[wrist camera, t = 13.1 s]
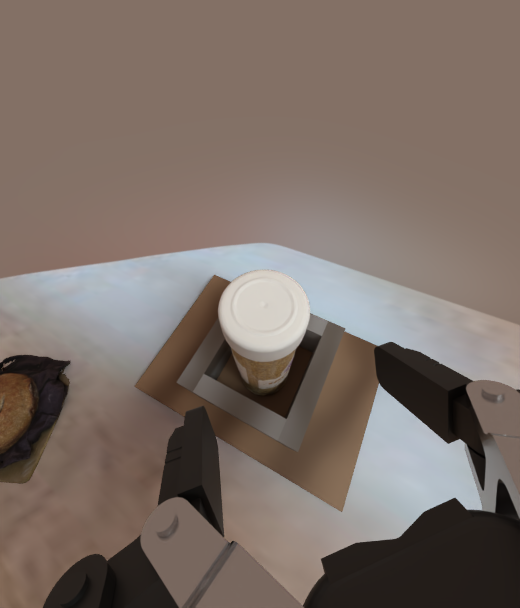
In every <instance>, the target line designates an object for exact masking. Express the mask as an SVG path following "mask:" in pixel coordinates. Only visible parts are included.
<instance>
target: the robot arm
mask: <svg viewBox="0 0 520 608" xmlns="http://www.w3.org/2000/svg"><path fill="white" fill-rule="evenodd" d="M374 357H375V366H376V375H377V379H378V381H379V383H380V385H381V386H382V387H383V389H385V390H386V391H387V392H388V393H389V394H390V395H392V396H393V397H394V398H395V399H396V400H397V401H399V402H400V403H401V404H402V405H403V406H404V407H406V408H407V409H408V410H409V411H410V412H411V413H413V414H414V415H415V416H416V417H417V418H418V419H420V420H421V421H422V422H423V423H424V424H426V425H427V426H428V427H429V428H430V429H431V430H433V431H434V432H435V433H436V434H437V435H438V436H440V437H441V438H442V439H443V440H444V441H445V442H447V443H448V444H449V443H451V442H454V441H456V440H458V439H461V440H462V441H463V442H465V452H466V455H467V458H468V461H469V464H470V468H471V471H472V474H473V477H474V480H475V483H476V487H477V490H478V493H479V496H480V500H481V504H482V510H483V511H482V510H466V509H465V507H464V506H463V505H462V504H461V503H460V502H459V501H458V500H457V499H456V498H453V499H451V500H449V501H447V502H444V503H442V504H440V505H438V506H436V507H434V508H431V509H429V510H427V511H425V512H423V514H422V515H421V516H420V517H419V518H418V519H417V520H416V521H415V522H414V523H413V524H412V525H411V526H410V527H409V528H408V529H407V530H406V531H405V532H404V533H403V534H402V536H400V537H399V538H397V539H391V540H381V541H371V542H360V543H355V544H353V545H350V546H348V547H346V548H344V549H342V550H339V551H337V552H335V553H333V554H331V555H328V556H326V557H324V558H322V559H321V561H322V565H323V569H324V573H325V574H324V575H323V576H322V577H321V578H320V579H319V580H318V581H317V583H316V584H315V585H314V587H313V588H312V590H311V591H310V593H309V595H308V597H307V599H306V600H305V603H304V605H303V606H302V605H301V604H300V603H299V602H298V601H297V600H296V599H295V598H294V597H293V596H292V595H291V594H290V593H289V592H288V591H287V590H286V589H285V588H284V587H283V586H282V585H281V584H280V583H279V582H278V581H277V580H276V579H275V578H274V577H273V576H271V575H270V574H269V573H268V572H267V571H266V570H265V569H264V568H263V567H262V566H261V565H260V564H259V563H258V562H257V561H256V560H255V559H254V558H253V557H252V556H251V555H250V554H249V553H248V552H247V551H246V550H245V549H244V548H243V547H242V546H241V545H239V544H238V543H237V542H235V541H232V542H231V543H229V542H228V541H227V540H225V539H224V538H223V537H224V528H223V513H222V499H221V484H220V470H219V455H218V445H217V440H216V436H215V433H214V430H213V428H212V425H211V422H210V419H209V417H208V414H207V411H206V409H205V407H204V406H200V407H198V408H195V409H192V410H189V411H186V413H185V421H184V426H182V427H179V428H176V429H175V430H174V432H173V434H172V436H171V437H170V439H169V441H168V447H167V455H166V459H165V465H164V471H163V477H162V483H161V489H160V495H159V501H158V506H157V508H156V509H155V510H154V511H153V512H152V513H151V514H150V516H149V517H148V519H147V520H146V522H145V524H144V526H143V529H142V532H141V535H140V536H139V537H138V538H137V539H136V540H134V541H133V542H132V543H131V544H129V545H128V546H127V547H125V548H124V549H123V550H121V551H120V552H118V553H117V554H116V555H114V556H113V557H112V558H110V559H109V560H108V561H107V560H106V559H105V558H104V557H103V556H102V555H99V554H93V555H89V556H87V557H85V558H83V559H81V560H80V561H78V562H77V563H75V564H74V565H73V566H72V567H71V568H70V569H69V570H68V571H67V572H66V573H65V574H64V575H63V576H62V577H61V578H60V579H59V581H58V582H57V583H56V585H55V586H54V588H53V589H52V591H51V592H50V594H49V596H48V598H47V599H46V602H45V604H44V606H43V608H520V390H515V389H513V388H512V387H510V386H508V385H505V384H502V383H499V382H495V381H489V380H478V381H472V380H470V379H468V378H467V377H465V376H463V375H461V374H459V373H457V372H456V371H454V370H452V369H450V368H448V367H446V366H444V365H443V364H439V362H437V361H435V360H433V359H430V357H428V356H426V355H424V354H422V353H421V352H418V351H414V350H411V349H407V348H406V349H404V348H402V347H401V346H399V345H397V344H395V343H393V342H389V343H386V344H383V345H380V346H377V347H375V348H374Z"/></svg>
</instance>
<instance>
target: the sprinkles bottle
mask: <svg viewBox="0 0 520 608" xmlns="http://www.w3.org/2000/svg"><path fill="white" fill-rule="evenodd" d="M218 318H219V322H220V326H221V329H222V332H223V335H224V337H225V339H226V341H227V342H228V344H229V345H230V347H231V349H232V353H233V356H234V359H235V362H236V364H237V367H238V370H239V372H240V374H241V378H242V381H243V383H244V385H245V386H246V387H247V389H248V390H250V391H251V392H253V393H254V394H257V395H262V396H265V395H272V394H274V393H276V392H277V391H279V390H280V389H281V388H282V387H283V386H284V385H285V383H286V380H287V377H288V372H289V370H290V366H291V363H292V360H293V357H294V354H295V350H296V348H297V347H298V345H299V344H300V343H301V341H302V339H303V337H304V335H305V332H306V329H307V326H308V323H309V318H310V305H309V301H308V298H307V295H306V293H305V291H304V290H303V289H302V287H301V286H300V285H299V284H298V283H297V282H296V281H295V280H294V279H292V278H291V277H289V276H287V275H285V274H283V273H281V272H278V271H273V270H255V271H251V272H248V273H245V274H243V275H241V276H239V277H237V278H236V279H234V280H233V281H232V282H231V283H230V284H229V285H228V286H227V287H226V289H225V290H224V292H223V294H222V295H221V298H220V301H219V306H218Z"/></svg>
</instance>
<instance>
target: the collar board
mask: <svg viewBox="0 0 520 608" xmlns="http://www.w3.org/2000/svg"><path fill="white" fill-rule="evenodd" d="M230 283H231V282H230V281H227V280H225V279H223V278H221V277H218V276H216V275H214V276H213V278H212V279H211V281H210V282H209V283H208V285H207V286H206V288H205V289H204V290H203V292H202V293H201V295H200V296H199V297H198V299H197V300H196V301H195V303H194V304H193V306H192V307H191V308H190V310H189V311H188V313H187V314H186V315H185V317H184V318H183V320H182V321H181V322H180V324H179V325H178V327H177V328H176V329H175V331H174V332H173V334H172V335H171V336H170V338H169V339H168V341H167V342H166V343H165V345H164V346H163V348H162V349H161V350H160V352H159V353H158V355H157V356H156V357H155V359H154V360H153V362H152V363H151V364H150V366H149V367H148V369H147V370H146V371H145V373H144V374H143V376H142V377H141V378H140V380H139V381H138V383H137V384H136V385H135V387H136V388H138V389H139V390H141V391H143V392H144V393H146V394H148V395H149V396H151V397H153V398H154V399H156V400H158V401H159V402H161V403H163V404H164V405H166V406H167V407H169V408H171V409H172V410H174V411H176V412H177V413H179V414H181V415H182V416H184V417H185V413H186V411H189V410H192V409H195V408H198V407H200V406H204V407H205V409H206V411H207V414H208V417H209V419H210V422H211V425H212V428H213V430H214V433H215V436H217V437H219V438H220V439H222V440H224V441H225V442H227V443H229V444H230V445H232V446H234V447H235V448H237V449H239V450H240V451H242V452H243V453H245V454H247V455H248V456H250V457H252V458H253V459H255V460H257V461H258V462H260V463H262V464H263V465H265V466H267V467H268V468H270V469H272V470H273V471H275V472H277V473H278V474H280V475H281V476H283V477H285V478H286V479H288V480H290V481H291V482H293V483H295V484H296V485H298V486H300V487H301V488H303V489H305V490H306V491H308V492H310V493H311V494H313V495H315V496H316V497H318V498H320V499H321V500H323V501H324V502H326V503H328V504H329V505H331V506H333V507H334V508H336V509H338V510H339V511H341V512H342V511H343V507H344V504H345V500H346V497H347V493H348V490H349V486H350V483H351V479H352V476H353V472H354V469H355V465H356V461H357V458H358V454H359V451H360V447H361V444H362V440H363V437H364V433H365V430H366V426H367V423H368V419H369V416H370V412H371V409H372V405H373V402H374V398H375V395H376V391H377V388H378V384H379V381H378V379H377V375H376V366H375V357H374V348H375V347H377V346H376V345H374V344H372V343H370V342H367V341H365V340H363V339H360V338H358V337H356V336H353V335H351V334H349V333H347V332H344V331H345V328H343V327H341V326H338V325H336V324H334V323H331V322H329V321H327V320H325V319H322V318H320V317H318V316H315V315H313V314H311V313H310V318H309V323H308V326H307V329H306V332H305V335H304V337H303V339H302V341H301V343H300V344H299V345H298V347H297V348H296V350H295V354H294V357H293V360H292V363H291V366H290V370H289V372H288V377H287V380H286V383H285V385H284V386H283V387H282V388H281V389H280V390H279V391H277V392H276V393H274V394H272V395H265V396H262V395H257V394H254V393H253V392H251V391H250V390H248V389H247V387H246V386H245V385H244V383H243V381H242V378H241V374H240V372H239V370H238V367H237V364H236V362H235V359H234V356H233V353H232V349H231V347H230V345H229V344H228V342H227V341H226V339H225V337H224V335H223V332H222V329H221V326H220V322H219V318H218V306H219V301H220V298H221V295H222V294H223V292H224V290H225V289H226V287H227V286H228V285H229V284H230Z"/></svg>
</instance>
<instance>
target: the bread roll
mask: <svg viewBox="0 0 520 608" xmlns="http://www.w3.org/2000/svg"><path fill="white" fill-rule="evenodd" d="M14 359H16V360H15V361H14V362H13V360H14ZM10 360H11V361H12V362H13V363H11V364H9V365H8V364H7V365H8V366H7V367H5V368H2V367H3V364H4V363H5V364H6V363H7V362H8V363H9V361H10ZM69 364H70V361H58V360H53V359H51V358H48V357H38V356H33V355H17V356H12V357H9V358H6V359H4V360H3V362H1V363H0V482H9V483H26V482H27V481H29V480H30V478H31V476H32V474H33V472H34V470H35V468H36V466H37V464H38V462H39V460H40V457H41V455H42V453H43V451H44V449H45V447H46V444H47V442H48V440H49V438H50V435H51V433H52V431H53V429H54V426H55V424H56V421H57V419H58V417H59V415H60V411H61V408H62V405H63V402H64V400H65V397H66V395H67V391H68V388H69V384H70V382H69V379H67V377H66V375H65V374H62V373H63V372H64V369H65V367H66V366H68V365H69ZM1 366H2V367H1ZM1 368H2V369H3V371H2V369H1ZM61 369H62V372H60V371H61ZM59 372H60V373H59ZM58 374H59V375H58Z"/></svg>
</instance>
